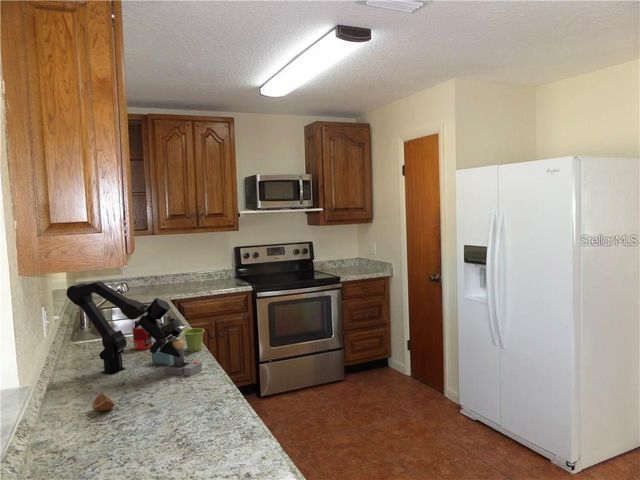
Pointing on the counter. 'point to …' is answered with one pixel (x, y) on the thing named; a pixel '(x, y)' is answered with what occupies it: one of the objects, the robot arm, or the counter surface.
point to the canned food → (141, 339)
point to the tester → (184, 368)
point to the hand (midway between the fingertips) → (182, 354)
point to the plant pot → (194, 339)
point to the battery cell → (178, 346)
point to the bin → (162, 358)
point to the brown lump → (102, 402)
